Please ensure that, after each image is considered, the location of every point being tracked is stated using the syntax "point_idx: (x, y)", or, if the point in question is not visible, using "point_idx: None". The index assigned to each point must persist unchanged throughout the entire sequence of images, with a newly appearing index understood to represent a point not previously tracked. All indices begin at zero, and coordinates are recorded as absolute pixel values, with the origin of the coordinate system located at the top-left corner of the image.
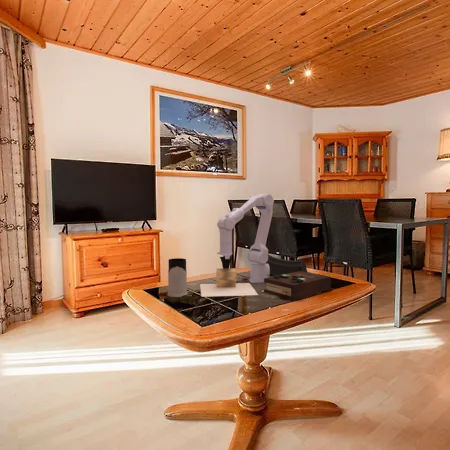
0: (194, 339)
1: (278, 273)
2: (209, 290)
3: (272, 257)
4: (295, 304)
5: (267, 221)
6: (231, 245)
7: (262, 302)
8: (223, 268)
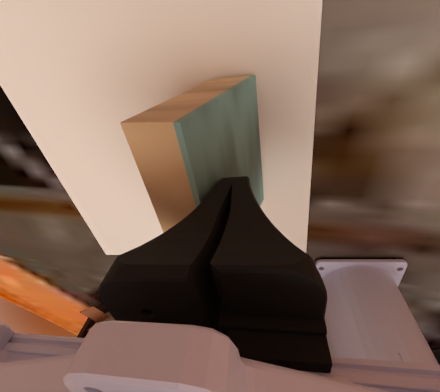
0: None
1: (438, 361)
2: (106, 28)
3: None
4: (64, 304)
5: None
6: None
7: (40, 250)
8: (209, 196)
